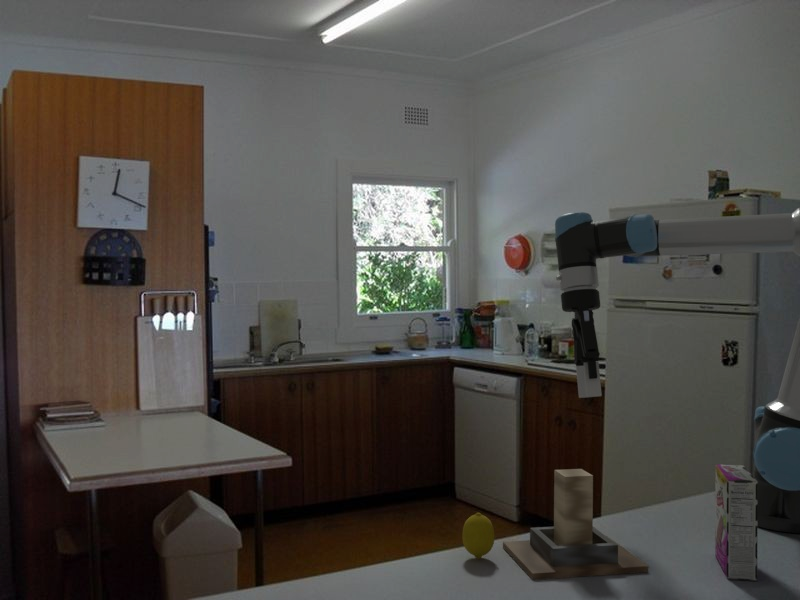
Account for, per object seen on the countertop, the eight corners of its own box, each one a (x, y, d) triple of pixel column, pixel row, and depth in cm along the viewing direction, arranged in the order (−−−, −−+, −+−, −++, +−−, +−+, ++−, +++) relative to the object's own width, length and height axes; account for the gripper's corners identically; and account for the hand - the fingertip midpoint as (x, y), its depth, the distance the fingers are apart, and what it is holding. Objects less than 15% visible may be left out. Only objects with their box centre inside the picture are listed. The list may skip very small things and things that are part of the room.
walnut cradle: (607, 541, 150) (607, 519, 150) (648, 572, 134) (648, 548, 134) (502, 547, 147) (503, 525, 147) (532, 579, 131) (532, 554, 131)
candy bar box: (712, 556, 142) (714, 463, 142) (743, 558, 141) (744, 464, 141) (725, 580, 131) (726, 478, 131) (758, 582, 130) (759, 480, 130)
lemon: (500, 558, 141) (500, 512, 141) (481, 566, 137) (481, 519, 137) (475, 551, 145) (475, 506, 144) (455, 558, 141) (455, 513, 140)
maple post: (580, 547, 144) (581, 468, 143) (592, 557, 139) (593, 475, 138) (553, 549, 143) (554, 469, 142) (564, 558, 138) (565, 476, 137)
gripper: (555, 300, 176) (564, 398, 173) (566, 282, 151) (577, 397, 148) (590, 297, 175) (600, 396, 172) (607, 279, 150) (619, 394, 147)
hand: (589, 397), depth 160 cm, fingers open, 13 cm apart
